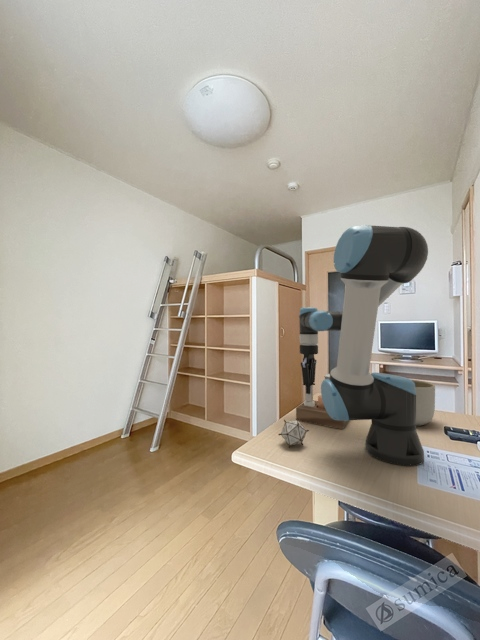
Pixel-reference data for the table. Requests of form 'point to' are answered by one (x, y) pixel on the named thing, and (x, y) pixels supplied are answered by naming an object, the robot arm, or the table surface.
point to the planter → (424, 402)
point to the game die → (293, 432)
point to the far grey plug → (309, 403)
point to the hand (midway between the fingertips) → (309, 400)
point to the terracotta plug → (320, 402)
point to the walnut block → (317, 416)
